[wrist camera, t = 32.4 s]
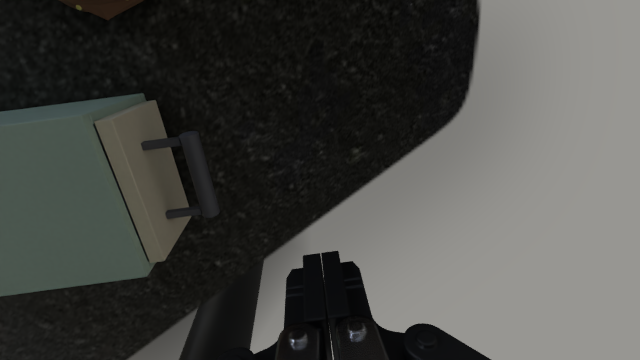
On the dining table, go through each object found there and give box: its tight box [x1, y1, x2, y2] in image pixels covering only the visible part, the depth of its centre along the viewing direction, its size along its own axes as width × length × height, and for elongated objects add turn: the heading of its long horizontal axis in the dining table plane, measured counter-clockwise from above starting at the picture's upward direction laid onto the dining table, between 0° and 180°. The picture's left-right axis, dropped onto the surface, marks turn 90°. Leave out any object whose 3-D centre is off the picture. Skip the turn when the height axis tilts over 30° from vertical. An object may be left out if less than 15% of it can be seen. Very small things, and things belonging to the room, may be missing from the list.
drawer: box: [93, 100, 220, 263], centre depth 27 cm, size 18×11×7 cm, turn 97°
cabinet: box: [0, 93, 156, 296], centre depth 27 cm, size 15×13×9 cm
